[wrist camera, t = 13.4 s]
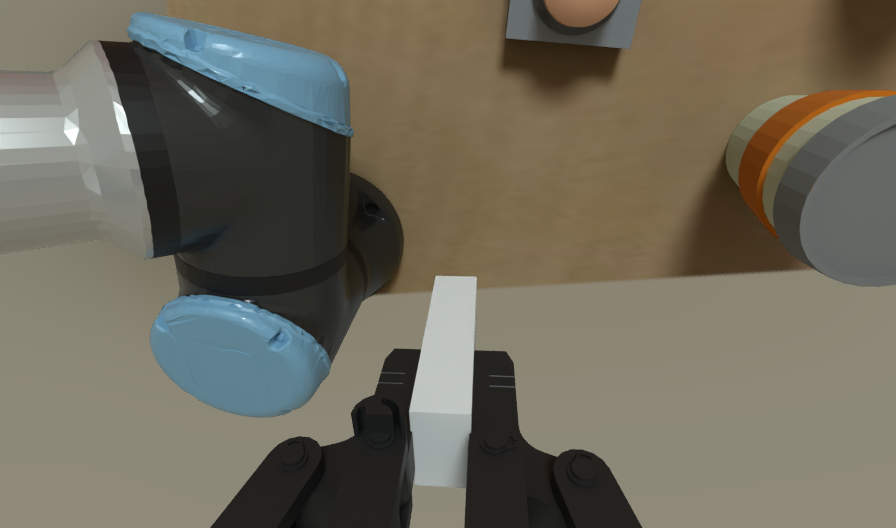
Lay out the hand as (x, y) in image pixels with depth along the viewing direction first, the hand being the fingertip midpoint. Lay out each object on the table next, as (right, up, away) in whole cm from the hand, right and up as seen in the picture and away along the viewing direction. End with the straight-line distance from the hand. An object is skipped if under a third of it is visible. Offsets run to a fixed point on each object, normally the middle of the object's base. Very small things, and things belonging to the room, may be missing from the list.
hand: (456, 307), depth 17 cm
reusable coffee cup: (+30, +13, +24) cm, 41 cm away
